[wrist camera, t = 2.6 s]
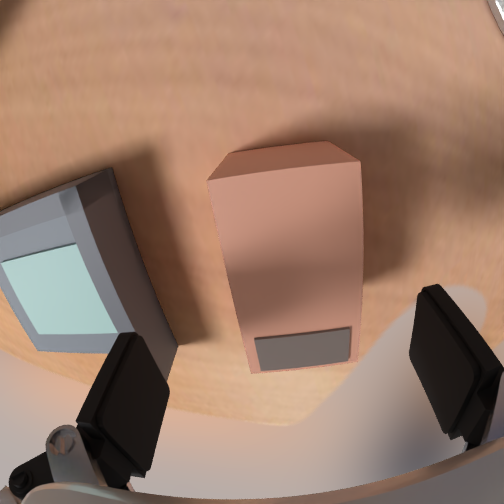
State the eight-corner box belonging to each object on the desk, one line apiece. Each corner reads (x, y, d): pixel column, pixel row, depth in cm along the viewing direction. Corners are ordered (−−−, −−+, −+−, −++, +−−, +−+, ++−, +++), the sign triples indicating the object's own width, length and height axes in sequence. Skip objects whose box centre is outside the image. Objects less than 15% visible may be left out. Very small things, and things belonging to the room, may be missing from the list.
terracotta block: (326, 140, 15) (361, 162, 9) (336, 290, 18) (358, 363, 13) (228, 153, 15) (205, 182, 10) (256, 300, 19) (250, 375, 14)
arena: (111, 167, 15) (75, 185, 12) (178, 346, 21) (165, 386, 18) (-22, 222, 17) (-52, 241, 14) (40, 346, 23) (22, 373, 20)
